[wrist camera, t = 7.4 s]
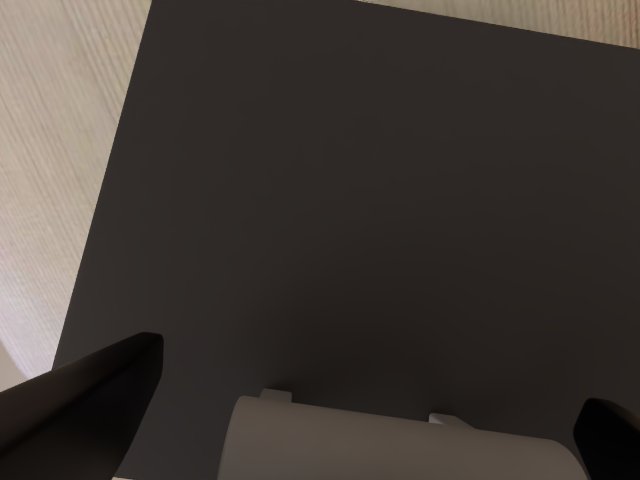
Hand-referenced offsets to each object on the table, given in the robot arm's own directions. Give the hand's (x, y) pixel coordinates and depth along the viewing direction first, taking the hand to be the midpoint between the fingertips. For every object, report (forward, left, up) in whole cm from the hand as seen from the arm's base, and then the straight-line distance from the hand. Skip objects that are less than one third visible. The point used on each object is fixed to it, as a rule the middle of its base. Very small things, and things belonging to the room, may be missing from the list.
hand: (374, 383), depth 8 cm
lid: (+2, 0, -4) cm, 4 cm away
